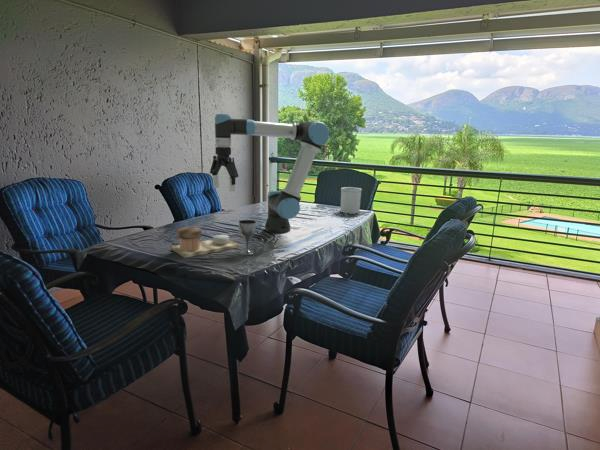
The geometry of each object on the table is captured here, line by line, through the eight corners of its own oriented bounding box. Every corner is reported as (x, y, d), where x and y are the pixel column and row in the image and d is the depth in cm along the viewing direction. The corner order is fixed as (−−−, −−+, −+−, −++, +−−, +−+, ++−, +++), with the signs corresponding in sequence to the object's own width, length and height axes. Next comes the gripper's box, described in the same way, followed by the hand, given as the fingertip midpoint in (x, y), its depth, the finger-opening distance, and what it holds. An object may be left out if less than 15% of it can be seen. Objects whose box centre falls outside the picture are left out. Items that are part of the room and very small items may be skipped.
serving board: (224, 240, 198) (224, 237, 198) (239, 247, 187) (239, 244, 187) (171, 249, 181) (171, 246, 180) (184, 257, 170) (184, 254, 169)
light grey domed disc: (231, 241, 192) (231, 235, 191) (225, 245, 184) (225, 239, 183) (217, 239, 193) (216, 234, 193) (210, 244, 186) (209, 238, 185)
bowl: (203, 246, 182) (202, 234, 180) (193, 252, 173) (193, 239, 172) (185, 244, 184) (185, 232, 182) (176, 250, 175) (175, 237, 174)
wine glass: (239, 249, 184) (239, 219, 180) (256, 249, 184) (256, 219, 181) (238, 255, 176) (238, 223, 172) (255, 255, 177) (255, 223, 173)
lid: (205, 234, 181) (205, 228, 180) (194, 240, 171) (194, 233, 170) (184, 232, 183) (184, 226, 183) (172, 238, 173) (171, 231, 172)
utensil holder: (340, 209, 287) (341, 186, 282) (359, 210, 285) (361, 187, 280) (339, 213, 272) (340, 189, 268) (360, 214, 270) (361, 190, 266)
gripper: (202, 145, 192) (203, 187, 197) (232, 148, 176) (233, 193, 181) (214, 145, 197) (215, 185, 202) (245, 147, 181) (245, 192, 186)
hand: (223, 189), depth 192 cm, fingers open, 13 cm apart
